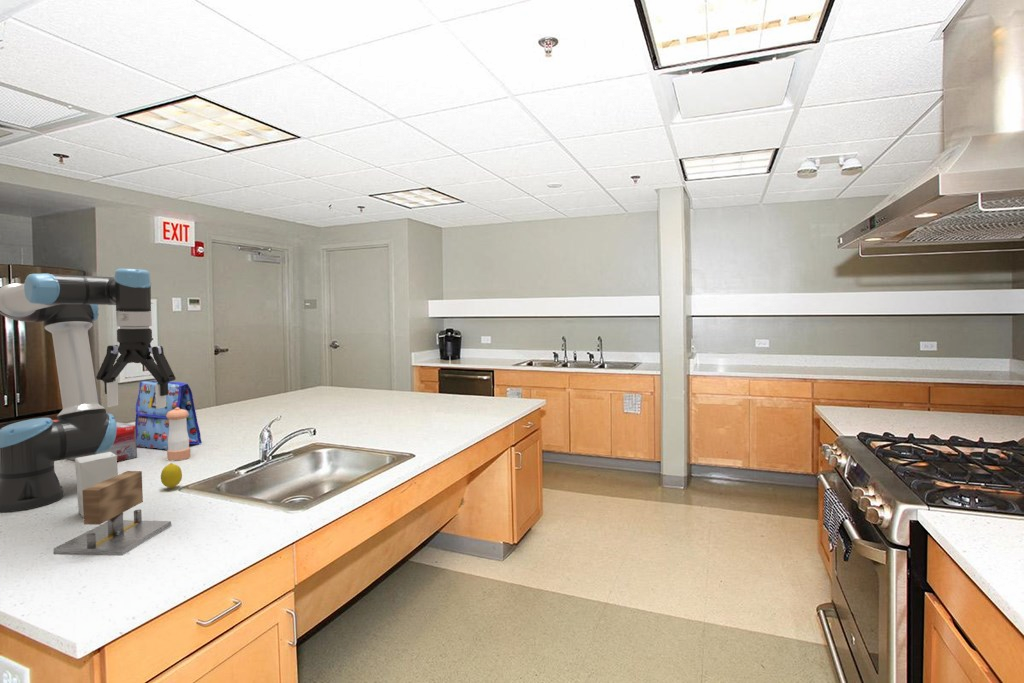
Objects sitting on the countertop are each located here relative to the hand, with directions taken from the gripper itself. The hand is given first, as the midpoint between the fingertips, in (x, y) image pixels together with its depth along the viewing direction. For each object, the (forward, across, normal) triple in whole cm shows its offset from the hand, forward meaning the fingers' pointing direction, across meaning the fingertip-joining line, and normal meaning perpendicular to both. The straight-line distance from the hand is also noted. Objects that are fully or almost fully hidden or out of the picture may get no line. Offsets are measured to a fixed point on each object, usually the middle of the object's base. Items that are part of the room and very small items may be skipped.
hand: (137, 407), depth 138 cm
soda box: (+31, -64, +53) cm, 89 cm away
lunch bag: (+31, -45, +69) cm, 88 cm away
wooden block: (+23, +6, -14) cm, 28 cm away
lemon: (+30, -6, +20) cm, 37 cm away
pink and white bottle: (+30, -27, +52) cm, 66 cm away
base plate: (+29, +6, -14) cm, 33 cm away
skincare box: (+30, -13, +1) cm, 32 cm away
